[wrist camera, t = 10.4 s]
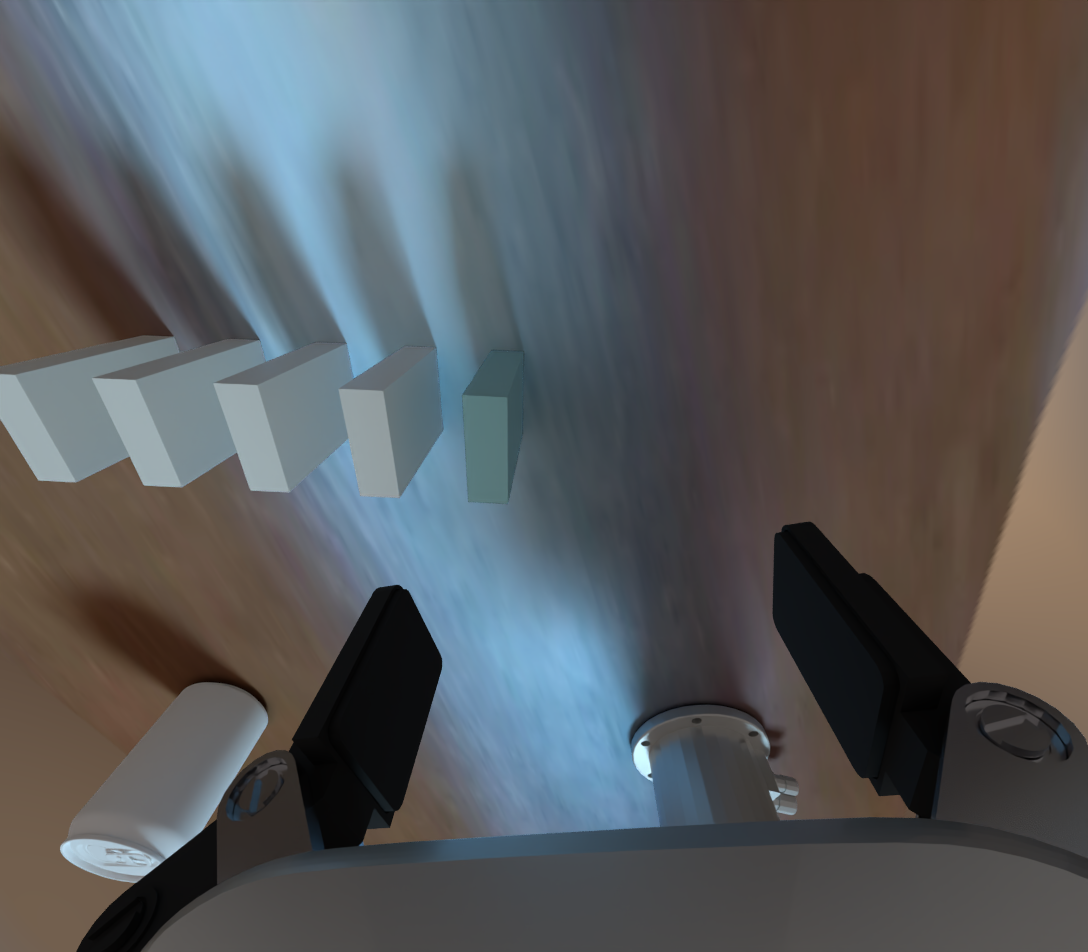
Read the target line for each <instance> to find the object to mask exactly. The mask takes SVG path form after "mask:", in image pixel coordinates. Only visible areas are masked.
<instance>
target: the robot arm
mask: <svg viewBox="0 0 1088 952" xmlns="http://www.w3.org/2000/svg"><path fill="white" fill-rule="evenodd" d="M773 620H774V623H775V626H776V628H777V630H778V632H779V634H780V636H781V638H782V639H783V641H784V643H785V645H786V647H787V648H788V650H789V652H790V654H791V656H792V658H793V659H794V661H795V663H796V665H797V667H798V668H799V670H800V672H801V674H802V676H803V677H804V679H805V681H806V683H807V685H808V686H809V688H810V690H811V692H812V694H813V695H814V697H815V699H816V701H817V703H818V705H819V706H820V708H821V710H822V712H823V714H824V715H825V717H826V719H827V721H828V723H829V724H830V726H831V728H832V730H833V732H834V733H835V735H836V737H837V739H838V741H839V742H840V744H841V746H842V748H843V750H844V752H845V753H846V755H847V757H848V759H849V761H850V762H851V764H852V766H853V768H854V769H855V771H856V772H857V774H858V775H859V776H860V777H861V778H869V779H870V781H871V783H872V785H873V786H874V788H875V790H876V792H877V793H878V795H879V796H889V795H900V796H901V797H902V799H903V801H904V802H905V804H906V806H907V807H908V809H909V810H911V811H912V812H914V813H916V818H879V817H868V818H839V819H809V820H780V819H779V816H778V813H777V812H780V813H785V814H789V815H793V814H795V813H796V811H797V801H796V797H795V795H797V794H798V792H799V786H798V782H797V781H796V779H794V778H793V777H788V776H784V775H776V774H774V773H773V772H772V771H771V768H770V766H769V763H768V761H767V759H768V757H769V754H770V743H769V740H768V737H767V734H766V732H765V730H764V728H763V726H762V725H761V724H760V723H759V722H758V721H757V720H756V719H755V718H753V717H752V716H750V715H748V714H747V713H744V712H742V711H739V710H737V709H734V708H729V707H725V706H718V705H692V706H684V707H679V708H675V709H671V710H668V711H666V712H663V713H661V714H658V715H657V716H655V717H653V718H651V719H649V720H648V721H647V722H646V723H644V724H643V725H642V726H641V727H640V728H639V729H638V730H637V732H636V733H635V735H634V737H633V739H632V743H631V752H632V759H633V762H634V765H635V767H636V768H637V769H638V771H639V772H640V773H641V774H642V775H643V776H645V777H646V778H647V779H649V780H651V781H653V786H654V792H655V798H656V804H657V811H658V817H659V823H660V827H649V828H632V829H614V830H597V831H580V832H563V833H546V834H530V835H513V836H497V837H481V838H466V839H450V840H435V841H419V842H404V843H391V844H379V845H367V846H364V844H363V839H364V836H365V833H366V830H367V829H376V828H390V826H391V822H392V819H393V816H394V812H395V811H397V810H399V809H400V807H401V805H402V803H403V800H404V797H405V793H406V790H407V787H408V783H409V780H410V776H411V773H412V769H413V766H414V763H415V759H416V756H417V752H418V749H419V745H420V742H421V739H422V735H423V732H424V728H425V725H426V721H427V718H428V715H429V711H430V708H431V704H432V701H433V697H434V694H435V691H436V687H437V684H438V680H439V677H440V673H441V670H442V658H441V655H440V653H439V651H438V649H437V647H436V645H435V643H434V641H433V639H432V637H431V635H430V633H429V631H428V629H427V627H426V625H425V623H424V621H423V619H422V617H421V615H420V613H419V611H418V609H417V607H416V605H415V603H414V601H413V599H412V597H411V595H410V593H409V591H408V590H407V589H403V588H402V587H401V586H400V585H393V586H386V587H380V588H377V589H376V590H375V591H374V592H373V594H372V596H371V598H370V600H369V601H368V603H367V605H366V607H365V609H364V610H363V612H362V614H361V616H360V618H359V619H358V621H357V623H356V625H355V627H354V628H353V630H352V632H351V634H350V636H349V637H348V639H347V641H346V643H345V645H344V646H343V648H342V650H341V652H340V654H339V655H338V657H337V659H336V661H335V663H334V665H333V666H332V668H331V670H330V672H329V674H328V675H327V677H326V679H325V681H324V683H323V684H322V686H321V688H320V690H319V692H318V693H317V695H316V697H315V699H314V701H313V702H312V704H311V706H310V708H309V710H308V711H307V713H306V715H305V717H304V719H303V720H302V722H301V724H300V726H299V728H298V729H297V731H296V733H295V735H294V737H293V738H292V740H293V742H294V743H293V745H292V746H291V748H290V750H289V752H288V751H286V750H275V751H272V752H269V753H266V754H264V755H263V756H261V757H259V758H257V759H256V760H254V761H253V762H252V763H250V764H249V765H248V766H247V767H246V768H244V769H243V770H242V771H241V772H240V773H239V774H238V776H237V777H236V778H235V779H234V780H233V781H232V783H231V784H230V785H229V787H228V788H227V790H226V791H225V793H224V795H223V797H222V799H221V802H220V804H219V807H218V813H217V820H215V821H214V822H213V823H212V824H210V825H209V826H208V827H206V828H205V829H204V830H203V831H201V832H200V833H199V834H198V835H196V836H195V837H194V838H192V839H191V840H190V841H189V842H187V843H186V844H185V845H184V846H182V847H181V848H180V849H179V850H177V851H176V852H175V853H173V854H172V855H171V856H170V857H168V858H167V859H166V860H165V861H163V862H162V863H161V864H159V865H158V866H157V867H156V868H154V869H153V870H152V871H151V872H149V873H148V874H147V875H145V876H144V877H143V878H142V879H140V880H139V881H138V882H137V883H135V884H134V885H133V886H132V887H130V888H129V889H128V890H127V891H125V892H124V893H123V894H122V895H121V896H120V897H118V898H117V899H116V900H115V901H114V902H113V903H112V904H111V905H109V907H108V908H107V909H106V910H105V911H104V912H103V913H102V914H101V916H100V917H99V918H98V919H97V920H96V921H95V923H94V924H93V925H92V927H91V928H90V930H89V931H88V933H87V934H86V936H85V937H84V938H83V940H82V942H81V944H80V945H79V947H78V949H77V952H1088V745H1087V742H1086V739H1085V737H1084V736H1083V735H1082V734H1081V732H1080V731H1079V730H1078V728H1077V727H1076V726H1075V725H1074V723H1073V722H1071V721H1070V720H1069V719H1068V718H1067V717H1065V716H1064V715H1063V714H1062V713H1061V712H1060V711H1059V710H1057V709H1056V708H1054V707H1053V706H1051V705H1049V704H1048V703H1046V702H1044V701H1043V700H1041V699H1040V698H1038V697H1036V696H1033V695H1031V694H1028V693H1026V692H1024V691H1022V690H1019V689H1017V688H1013V687H1010V686H1005V685H1002V684H998V683H987V682H977V683H972V684H971V683H970V682H969V681H968V679H967V678H966V677H965V676H964V675H963V674H962V673H961V672H960V671H959V670H958V669H957V668H956V667H955V666H954V664H953V663H952V662H951V661H950V660H949V659H948V658H947V657H946V656H945V655H944V654H943V653H942V652H941V650H940V649H939V648H938V647H937V646H936V645H935V644H934V643H933V642H932V641H931V640H930V639H929V638H928V636H927V635H926V634H925V633H924V632H923V631H922V630H921V629H920V628H919V627H918V626H917V625H916V624H915V622H914V621H913V620H912V619H911V618H910V617H909V616H908V615H907V614H906V613H905V612H904V611H903V610H902V608H901V607H900V606H899V605H898V604H897V603H896V602H895V601H894V600H893V599H892V598H891V597H890V596H889V594H888V593H887V592H886V591H885V590H884V589H883V588H882V587H881V586H880V585H879V584H878V583H877V582H876V581H875V580H874V579H873V578H872V577H871V576H870V575H867V574H865V573H861V574H858V573H857V571H856V570H855V569H854V568H853V567H852V566H851V565H850V564H849V562H848V561H847V560H846V559H845V558H844V557H843V556H842V555H841V554H840V552H839V551H838V550H837V549H836V548H835V547H834V546H833V545H832V544H831V542H830V541H829V540H828V539H827V538H826V537H825V536H824V535H823V533H822V532H821V531H820V530H819V529H818V528H817V527H816V526H815V525H814V524H813V523H812V522H803V523H797V524H790V525H785V526H783V527H782V531H781V532H779V533H776V534H775V538H774V576H773Z"/></svg>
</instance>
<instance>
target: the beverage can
mask: <svg viewBox="0 0 1088 952" xmlns="http://www.w3.org/2000/svg"><path fill="white" fill-rule="evenodd" d="M267 723H268V715H267V712H266V710H265V708H264V707H263V705H262V704H261V703H260V702H259V701H258V700H257V699H256V698H255V697H254V696H253V695H251V694H250V693H248V692H247V691H245V690H243V689H241V688H238V687H236V686H233V685H229V684H224V683H214V682H203V683H196V684H193V685H190V686H188V687H186V688H185V689H184V690H183V691H182V692H181V693H180V694H179V695H178V697H177V698H176V699H175V700H174V701H173V702H172V704H171V705H170V706H169V707H168V708H167V709H166V711H165V712H164V713H163V714H162V715H161V717H160V718H159V719H158V720H157V721H156V722H155V724H154V725H153V726H152V727H151V728H150V729H149V731H148V732H147V733H146V734H145V735H144V736H143V738H142V739H141V740H140V741H139V742H138V744H137V745H136V746H135V747H134V748H133V749H132V751H131V752H130V753H129V754H128V755H127V756H126V758H125V759H124V760H123V761H122V762H121V763H120V765H119V766H118V767H117V768H116V769H115V771H114V772H113V773H112V774H111V775H110V776H109V778H108V779H107V780H106V781H105V782H104V783H103V785H102V786H101V787H100V788H99V789H98V791H97V792H96V793H95V794H94V795H93V796H92V798H91V799H90V800H89V801H88V802H87V803H86V805H85V806H84V807H83V808H82V809H81V810H80V812H79V813H78V814H77V815H76V817H75V818H74V819H73V821H72V823H71V825H70V829H69V833H68V838H67V839H66V840H65V841H64V842H63V843H62V844H61V846H60V851H61V853H62V855H63V856H64V857H65V858H66V859H67V860H68V861H70V862H71V863H73V864H74V865H76V866H78V867H80V868H82V869H84V870H86V871H88V872H91V873H94V874H96V875H99V876H103V877H106V878H110V879H114V880H119V881H126V882H134V883H137V882H138V881H139V880H140V879H142V878H143V877H144V876H145V875H147V874H148V873H149V872H151V871H152V870H153V869H154V868H156V867H157V866H158V865H159V864H161V863H162V862H163V861H165V860H166V859H167V858H168V857H170V856H171V855H172V854H173V853H175V852H176V851H177V850H179V849H180V848H181V847H182V846H184V845H185V844H186V843H187V842H189V841H190V840H191V839H192V838H194V837H195V836H196V835H198V834H199V833H200V832H201V831H202V830H203V828H204V827H205V825H206V823H207V822H208V820H209V819H210V817H211V815H212V814H213V812H214V810H215V809H216V807H217V806H218V804H219V802H220V801H221V799H222V797H223V795H224V793H225V791H226V790H227V788H228V787H229V785H230V784H231V783H232V781H233V780H234V778H235V776H236V775H237V773H238V771H239V770H240V768H241V767H242V765H243V763H244V762H245V760H246V758H247V757H248V755H249V754H250V752H251V750H252V749H253V747H254V745H255V744H256V742H257V741H258V739H259V737H260V736H261V734H262V732H263V731H264V729H265V728H266V726H267Z"/></svg>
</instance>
